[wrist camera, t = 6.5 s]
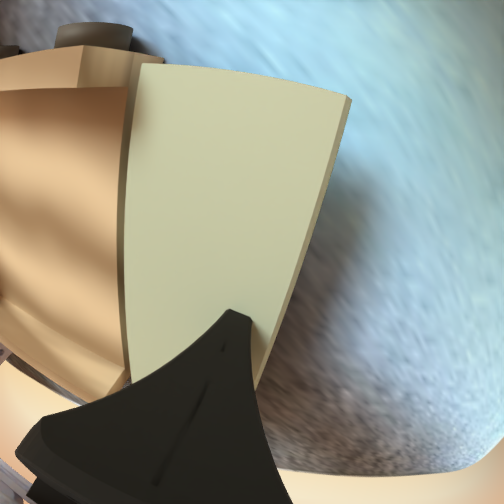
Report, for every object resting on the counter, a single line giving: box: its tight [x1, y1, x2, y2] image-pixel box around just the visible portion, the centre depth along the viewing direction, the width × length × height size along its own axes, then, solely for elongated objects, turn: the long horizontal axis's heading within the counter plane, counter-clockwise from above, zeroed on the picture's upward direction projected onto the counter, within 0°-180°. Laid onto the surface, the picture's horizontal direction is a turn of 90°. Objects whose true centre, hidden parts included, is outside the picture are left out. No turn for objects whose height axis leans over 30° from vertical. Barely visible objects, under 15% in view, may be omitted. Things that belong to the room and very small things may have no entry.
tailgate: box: [124, 63, 352, 390], centre depth 11 cm, size 15×2×6 cm
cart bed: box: [0, 22, 164, 403], centre depth 12 cm, size 18×13×5 cm
